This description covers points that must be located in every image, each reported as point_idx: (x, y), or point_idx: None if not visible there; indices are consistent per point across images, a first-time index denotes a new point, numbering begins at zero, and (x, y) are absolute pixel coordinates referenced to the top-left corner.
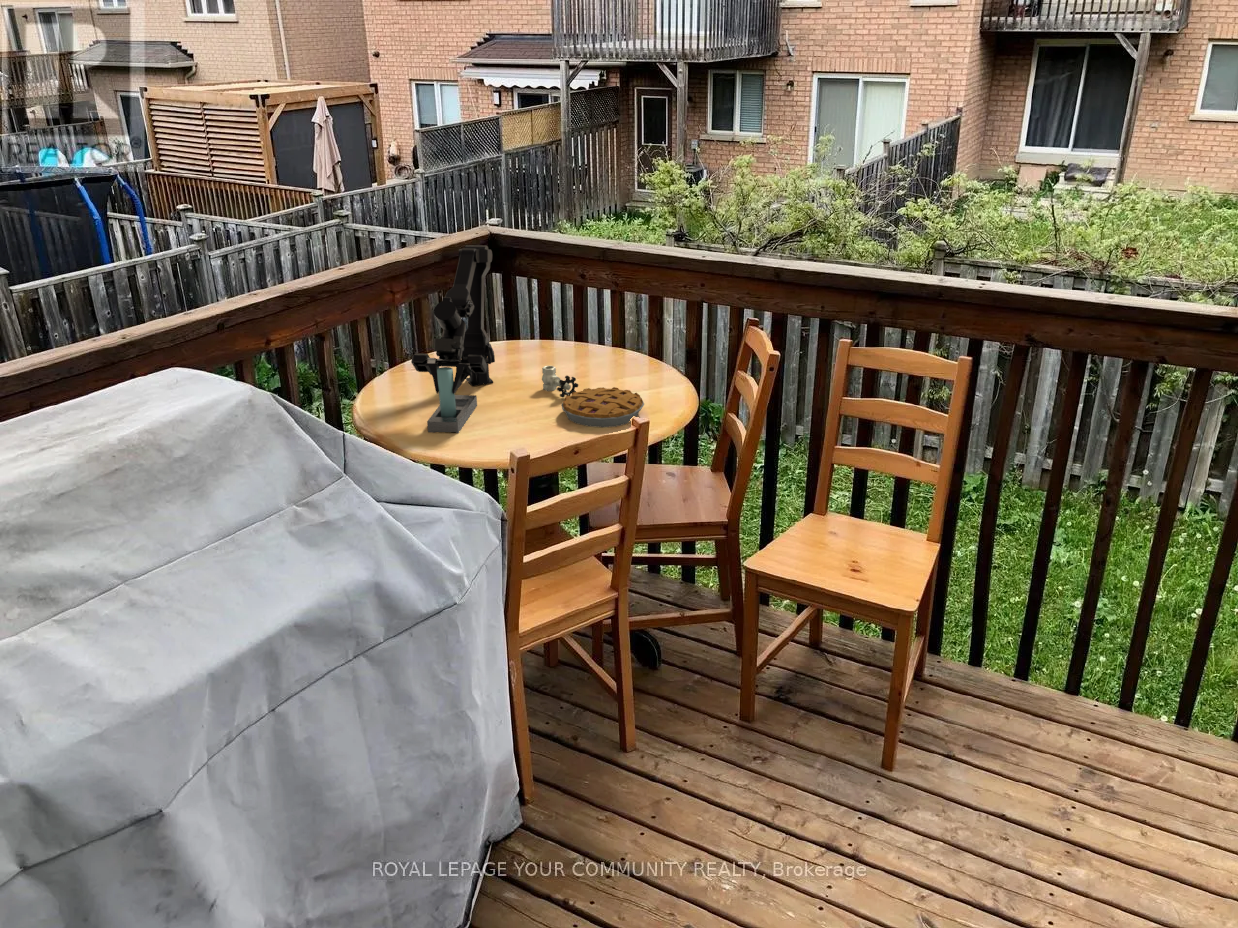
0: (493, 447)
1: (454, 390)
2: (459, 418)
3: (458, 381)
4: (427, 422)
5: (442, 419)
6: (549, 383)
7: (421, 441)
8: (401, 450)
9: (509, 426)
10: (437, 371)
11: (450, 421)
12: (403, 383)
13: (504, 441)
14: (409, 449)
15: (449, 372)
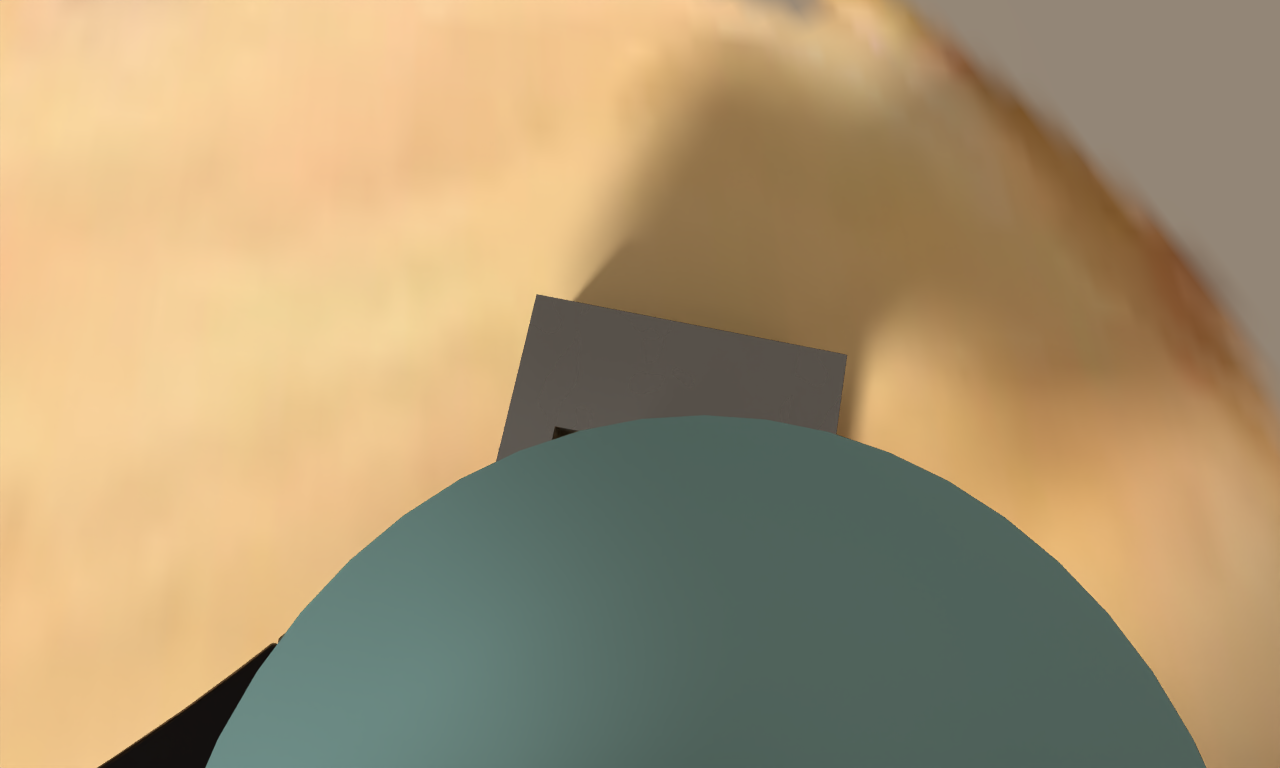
0: (287, 28)
1: None
2: (521, 396)
3: None
4: (840, 356)
5: (695, 389)
6: None
7: (836, 197)
8: (956, 54)
9: (107, 433)
10: (1141, 686)
11: (609, 322)
12: None
13: (193, 123)
14: (901, 64)
15: (414, 519)
